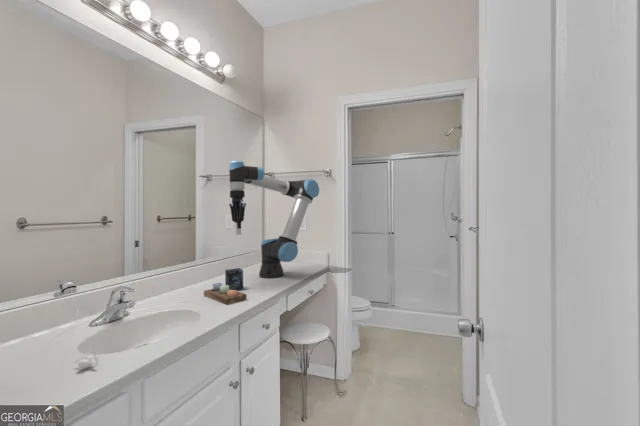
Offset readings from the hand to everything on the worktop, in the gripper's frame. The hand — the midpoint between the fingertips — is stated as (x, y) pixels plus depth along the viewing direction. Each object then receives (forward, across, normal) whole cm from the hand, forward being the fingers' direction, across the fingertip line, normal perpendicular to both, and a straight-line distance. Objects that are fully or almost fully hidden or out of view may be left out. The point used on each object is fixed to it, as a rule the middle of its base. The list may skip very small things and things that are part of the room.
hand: (238, 234), depth 168 cm
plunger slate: (+27, +5, -15) cm, 31 cm away
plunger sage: (+27, +12, -15) cm, 33 cm away
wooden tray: (+28, +12, -15) cm, 34 cm away
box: (+29, +1, -4) cm, 29 cm away
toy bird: (+29, +46, -73) cm, 91 cm away
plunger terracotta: (+28, +19, -15) cm, 37 cm away
